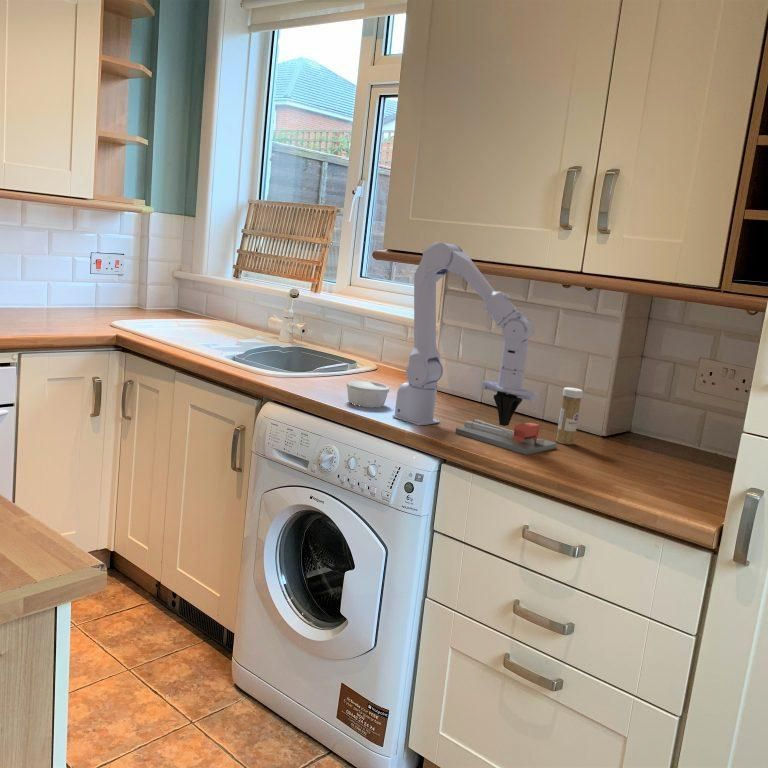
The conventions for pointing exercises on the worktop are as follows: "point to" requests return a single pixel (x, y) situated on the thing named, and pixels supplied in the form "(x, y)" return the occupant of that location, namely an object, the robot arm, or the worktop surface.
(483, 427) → the tongs
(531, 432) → the red block
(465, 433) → the slate board
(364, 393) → the ramekin
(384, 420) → the worktop surface
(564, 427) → the sprinkles bottle
